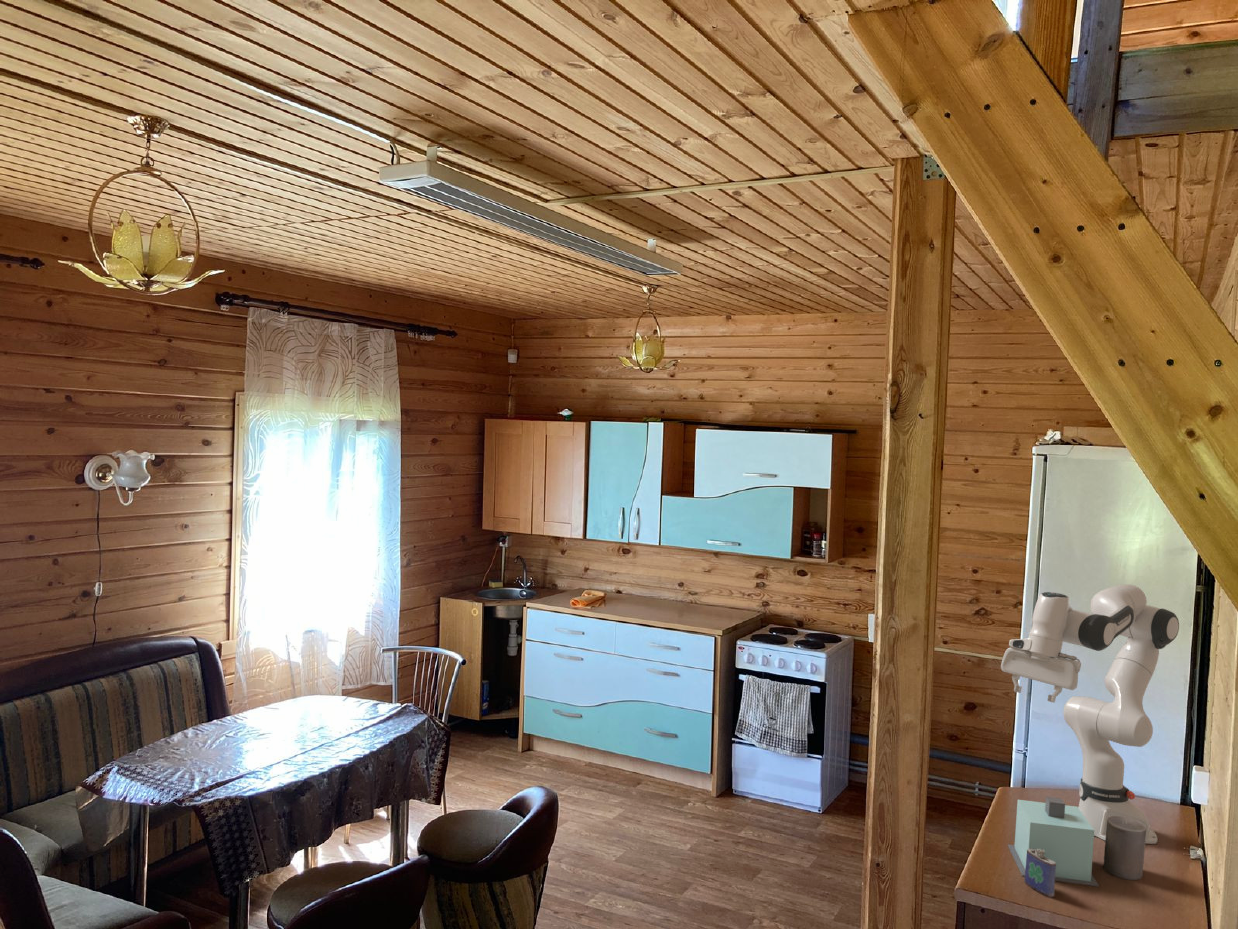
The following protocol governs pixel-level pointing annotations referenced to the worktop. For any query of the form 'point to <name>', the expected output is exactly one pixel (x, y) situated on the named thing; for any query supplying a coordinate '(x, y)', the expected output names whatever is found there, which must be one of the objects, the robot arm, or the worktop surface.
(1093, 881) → the mat
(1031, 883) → the flask
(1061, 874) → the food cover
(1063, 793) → the worktop surface
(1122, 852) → the pillar candle
